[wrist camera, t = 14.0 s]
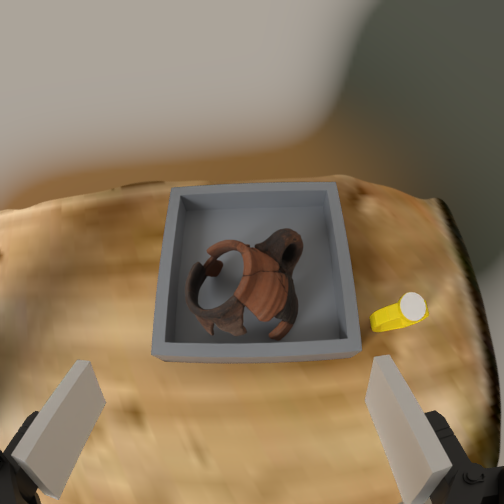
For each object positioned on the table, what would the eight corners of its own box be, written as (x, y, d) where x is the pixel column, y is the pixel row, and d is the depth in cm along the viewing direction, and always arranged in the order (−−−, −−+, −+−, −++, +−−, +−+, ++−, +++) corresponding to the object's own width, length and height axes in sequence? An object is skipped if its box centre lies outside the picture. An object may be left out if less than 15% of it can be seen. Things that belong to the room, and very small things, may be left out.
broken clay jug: (268, 371, 28) (212, 349, 22) (214, 321, 35) (161, 291, 29) (342, 268, 29) (308, 219, 24) (278, 236, 36) (237, 192, 30)
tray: (164, 361, 29) (151, 354, 26) (179, 208, 38) (171, 187, 34) (350, 357, 29) (361, 350, 25) (330, 203, 37) (335, 182, 34)
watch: (408, 308, 31) (436, 287, 26) (413, 332, 30) (443, 315, 24) (360, 315, 31) (383, 294, 25) (365, 341, 29) (390, 325, 24)
